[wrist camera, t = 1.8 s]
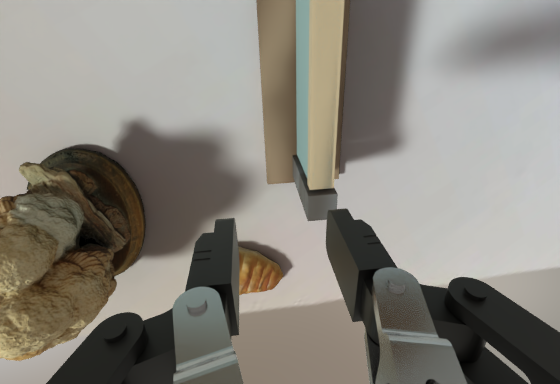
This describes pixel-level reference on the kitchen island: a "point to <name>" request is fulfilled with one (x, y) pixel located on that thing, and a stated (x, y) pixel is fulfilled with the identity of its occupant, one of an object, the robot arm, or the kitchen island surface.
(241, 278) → the pastry
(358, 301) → the robot arm
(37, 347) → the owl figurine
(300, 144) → the gate panel
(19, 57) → the kitchen island surface
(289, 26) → the gate frame
